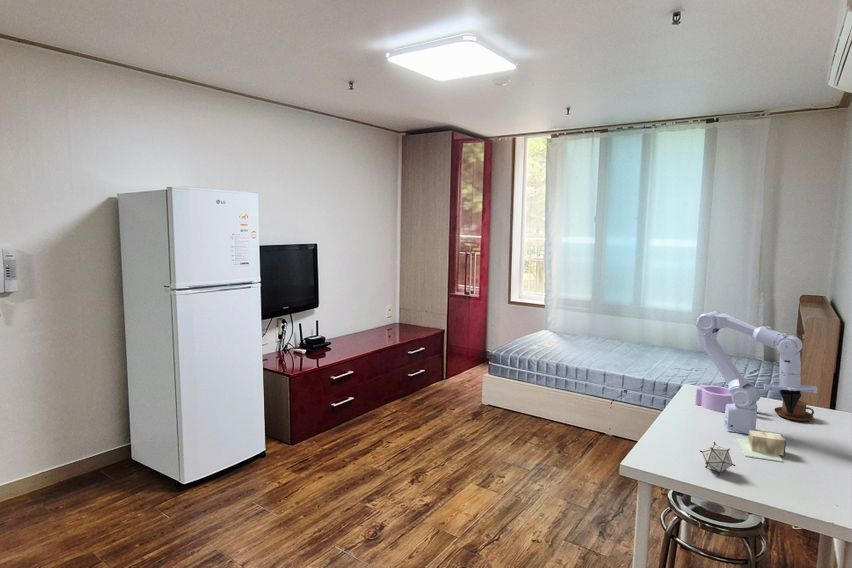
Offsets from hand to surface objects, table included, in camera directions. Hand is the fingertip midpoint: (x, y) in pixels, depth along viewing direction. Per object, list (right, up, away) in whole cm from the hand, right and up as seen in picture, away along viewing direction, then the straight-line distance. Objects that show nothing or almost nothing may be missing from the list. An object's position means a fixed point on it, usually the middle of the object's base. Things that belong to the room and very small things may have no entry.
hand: (790, 412), depth 167 cm
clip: (-2, -7, +33) cm, 34 cm away
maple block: (-8, -8, -7) cm, 14 cm away
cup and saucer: (+19, -8, +24) cm, 31 cm away
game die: (-36, -13, -18) cm, 42 cm away
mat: (-14, -11, -5) cm, 18 cm away
